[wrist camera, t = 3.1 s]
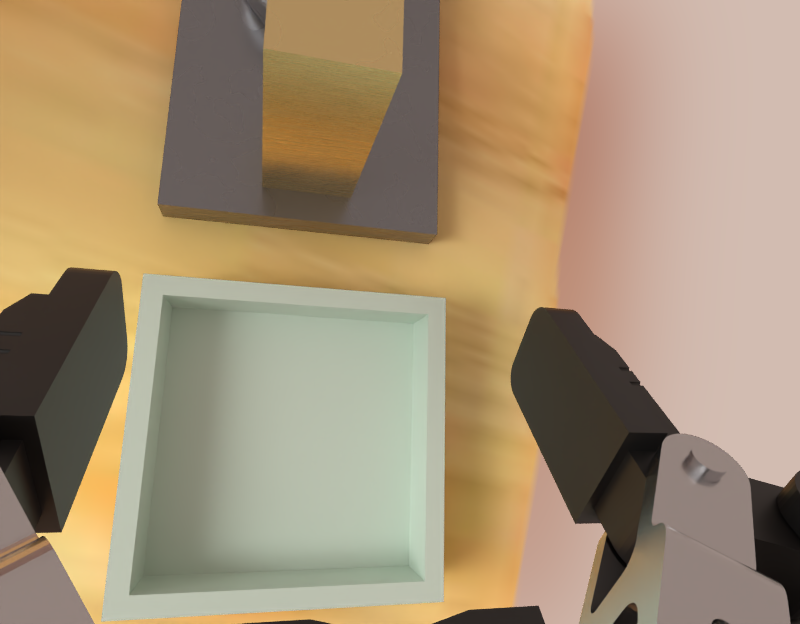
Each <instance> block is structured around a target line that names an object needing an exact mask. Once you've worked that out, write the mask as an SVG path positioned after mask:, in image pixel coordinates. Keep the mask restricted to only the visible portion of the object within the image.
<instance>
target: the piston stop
mask: <svg viewBox="0 0 800 624" xmlns="http://www.w3.org/2000/svg"><path fill="white" fill-rule="evenodd" d="M403 24H404V0H267V8H266V20H265V32H264V44H263V132H262V187H266V188H275V189H283V190H291V191H299V192H307V193H316V194H324V195H332V196H340V197H349V198H351V197H352V194H353V192H354V189H355V187H356V184H357V182H358V180H359V177H360V175H361V172H362V170H363V167H364V165H365V163H366V160H367V158H368V155H369V153H370V150H371V148H372V146H373V143H374V141H375V138H376V136H377V133H378V131H379V129H380V126H381V124H382V121H383V119H384V116H385V114H386V112H387V109H388V107H389V104H390V102H391V99H392V97H393V95H394V92H395V90H396V87H397V85H398V82H399V80H400V77H401V75H402V63H403Z"/></svg>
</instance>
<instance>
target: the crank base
mask: <svg viewBox="0 0 800 624" xmlns="http://www.w3.org/2000/svg"><path fill="white" fill-rule="evenodd" d="M439 5H440V0H404V24H403V63H402V75H401V77H400V80H399V82H398V85H397V87H396V90H395V92H394V95H393V97H392V99H391V102H390V104H389V107H388V109H387V112H386V114H385V116H384V119H383V121H382V124H381V126H380V129H379V131H378V133H377V136H376V138H375V141H374V143H373V146H372V148H371V150H370V153H369V155H368V158H367V160H366V163H365V165H364V167H363V170H362V172H361V175H360V177H359V180H358V182H357V184H356V187H355V189H354V192H353V194H352V197H351V198H349V197H340V196H332V195H324V194H316V193H307V192H299V191H291V190H283V189H275V188H266V187H262V132H263V44H264V32H265V20H266V8H267V0H182V4H181V12H180V21H179V29H178V37H177V46H176V54H175V63H174V71H173V79H172V88H171V96H170V104H169V113H168V121H167V130H166V138H165V146H164V155H163V163H162V171H161V180H160V188H159V197H158V206H159V208H160V210H161V212H162V214H163V216H168V217H177V218H187V219H196V220H206V221H215V222H225V223H234V224H244V225H253V226H263V227H272V228H282V229H291V230H301V231H310V232H320V233H329V234H339V235H348V236H358V237H368V238H377V239H387V240H396V241H406V242H415V243H425V244H429V243H430V242H431V240H432V239H433V238H434V237H435V236H436V235H437V193H438V99H439Z"/></svg>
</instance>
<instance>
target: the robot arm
mask: <svg viewBox="0 0 800 624" xmlns="http://www.w3.org/2000/svg"><path fill="white" fill-rule="evenodd" d="M126 360H127V334H126V323H125V313H124V302H123V292H122V283H121V278H120V275H119V273H118V272H117V271H107V270H95V269H83V268H68V269H67V270H66V271H65V272H64V274H63V275H62V276H61V278H60V279H59V281H58V282H57V284H56V285H55V287H54V288H53V289H52V291H51V292H50V294H49V295H47V294H33V293H31V294H30V295H28V296H26V297H24V298H23V299H21V300H19V301H18V302H16V303H14V304H13V305H11V306H9V307H8V308H6V309H4V310H3V311H2V312H1V314H0V624H94V622H93V620H92V618H91V616H90V615H89V613H88V611H87V609H86V607H85V605H84V604H83V602H82V600H81V598H80V596H79V594H78V593H77V591H76V589H75V587H74V585H73V583H72V582H71V580H70V578H69V576H68V574H67V572H66V571H65V569H64V567H63V565H62V563H61V561H60V560H59V558H58V556H57V554H56V552H55V551H54V549H53V547H52V546H51V544H50V543H49V541H48V540H47V539H46V538H45V537H44V536H42V537H40V538H39V537H38V536H37V534H36V533H50V532H62V529H63V527H64V524H65V522H66V519H67V517H68V514H69V512H70V509H71V507H72V504H73V501H74V499H75V496H76V494H77V491H78V489H79V486H80V484H81V481H82V479H83V476H84V474H85V471H86V469H87V466H88V463H89V461H90V458H91V456H92V453H93V451H94V448H95V446H96V443H97V441H98V438H99V436H100V433H101V431H102V428H103V426H104V423H105V420H106V418H107V415H108V413H109V410H110V408H111V405H112V403H113V400H114V398H115V395H116V393H117V390H118V388H119V385H120V382H121V380H122V377H123V374H124V371H125V366H126ZM511 386H512V391H513V394H514V396H515V398H516V400H517V402H518V404H519V406H520V409H521V411H522V413H523V415H524V417H525V419H526V421H527V423H528V425H529V427H530V430H531V432H532V434H533V436H534V438H535V440H536V442H537V444H538V446H539V448H540V451H541V453H542V455H543V457H544V459H545V461H546V463H547V465H548V467H549V469H550V472H551V474H552V476H553V478H554V480H555V482H556V484H557V486H558V488H559V490H560V493H561V495H562V497H563V499H564V501H565V503H566V505H567V507H568V509H569V511H570V513H571V516H572V518H573V520H574V522H575V524H577V523H579V524H581V523H601V524H602V526H603V528H604V530H605V532H604V534H603V535H602V537H601V538H600V540H599V543H598V545H597V550H596V554H595V558H594V562H593V567H592V571H591V575H590V579H589V583H588V588H587V592H586V597H585V601H584V605H583V609H582V613H581V617H580V622H579V624H800V471H799V472H797V473H796V475H795V476H794V477H793V478H792V479H791V480H790V481H789V483H788V484H787V485H786V486H785V487H784V488H783V487H779V486H776V485H772V484H768V483H765V482H761V481H758V480H754V479H751V478H748V477H747V475H746V473H745V471H744V470H743V469H742V467H741V466H740V465H739V464H738V463H737V462H736V461H735V460H734V459H733V458H732V457H731V456H730V455H729V454H727V453H726V452H725V451H723V450H722V449H721V448H719V447H718V446H716V445H714V444H713V443H710V442H709V441H706V440H704V439H702V438H699V437H696V436H693V435H688V434H680V433H679V432H678V430H677V429H676V428H675V426H674V425H673V424H672V423H671V421H670V420H669V419H668V417H667V416H666V415H665V413H664V412H663V411H662V410H661V408H660V407H659V406H658V404H657V403H656V402H655V401H654V399H653V398H652V397H651V395H650V394H649V393H648V391H647V390H646V389H645V388H644V386H640V381H639V380H638V379H637V377H636V376H635V375H634V374H633V372H632V371H629V367H628V366H627V364H626V363H625V362H624V361H623V359H622V358H621V357H620V355H619V354H618V353H617V352H616V350H615V349H613V348H612V347H611V346H609V345H608V344H607V343H605V342H604V341H603V340H602V339H600V338H599V337H597V336H596V335H594V334H593V333H592V331H591V330H590V328H589V327H588V326H587V324H586V323H585V322H584V320H583V319H582V318H581V316H580V315H579V314H578V313H577V312H576V311H574V310H568V309H555V308H543V307H540V308H538V309H536V310H535V311H534V313H533V314H532V316H531V319H530V321H529V324H528V326H527V329H526V332H525V334H524V337H523V339H522V342H521V344H520V347H519V350H518V352H517V355H516V357H515V360H514V362H513V365H512V370H511ZM244 624H330V623H325V622H320V621H315V620H311V619H310V620H294V621H277V622H261V623H244ZM433 624H545V623H544V620H543V617H542V614H541V611H540V609H539V606H527V607H510V608H493V609H477V610H468V611H465V612H463V613H460V614H457V615H455V616H452V617H449V618H447V619H444V620H441V621H439V622H436V623H433Z"/></svg>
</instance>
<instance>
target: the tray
mask: <svg viewBox="0 0 800 624" xmlns="http://www.w3.org/2000/svg"><path fill="white" fill-rule="evenodd" d="M445 333H446V298H438V297H426V296H414V295H401V294H389V293H377V292H365V291H352V290H340V289H328V288H315V287H303V286H291V285H278V284H266V283H254V282H241V281H229V280H217V279H205V278H192V277H180V276H168V275H155V274H143V281H142V290H141V298H140V306H139V314H138V323H137V331H136V339H135V347H134V355H133V364H132V372H131V380H130V388H129V397H128V405H127V413H126V421H125V430H124V438H123V446H122V454H121V462H120V471H119V479H118V487H117V495H116V504H115V512H114V520H113V528H112V536H111V545H110V553H109V561H108V569H107V578H106V586H105V594H104V602H103V610H102V619H101V621H119V620H136V619H154V618H171V617H188V616H206V615H223V614H241V613H258V612H275V611H293V610H310V609H328V608H345V607H363V606H380V605H397V604H415V603H432V602H444V473H445Z"/></svg>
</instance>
